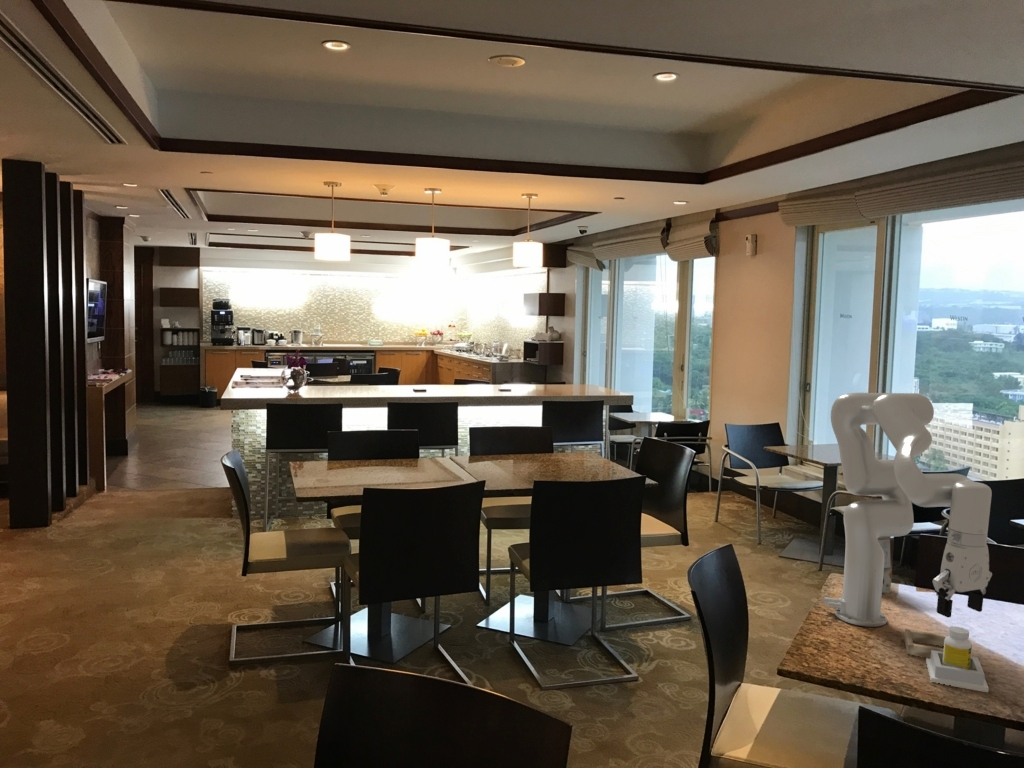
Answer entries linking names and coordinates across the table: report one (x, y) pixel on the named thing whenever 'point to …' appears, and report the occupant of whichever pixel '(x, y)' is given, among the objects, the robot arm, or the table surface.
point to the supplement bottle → (957, 648)
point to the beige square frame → (923, 638)
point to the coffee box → (887, 561)
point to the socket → (956, 673)
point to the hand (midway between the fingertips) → (959, 612)
